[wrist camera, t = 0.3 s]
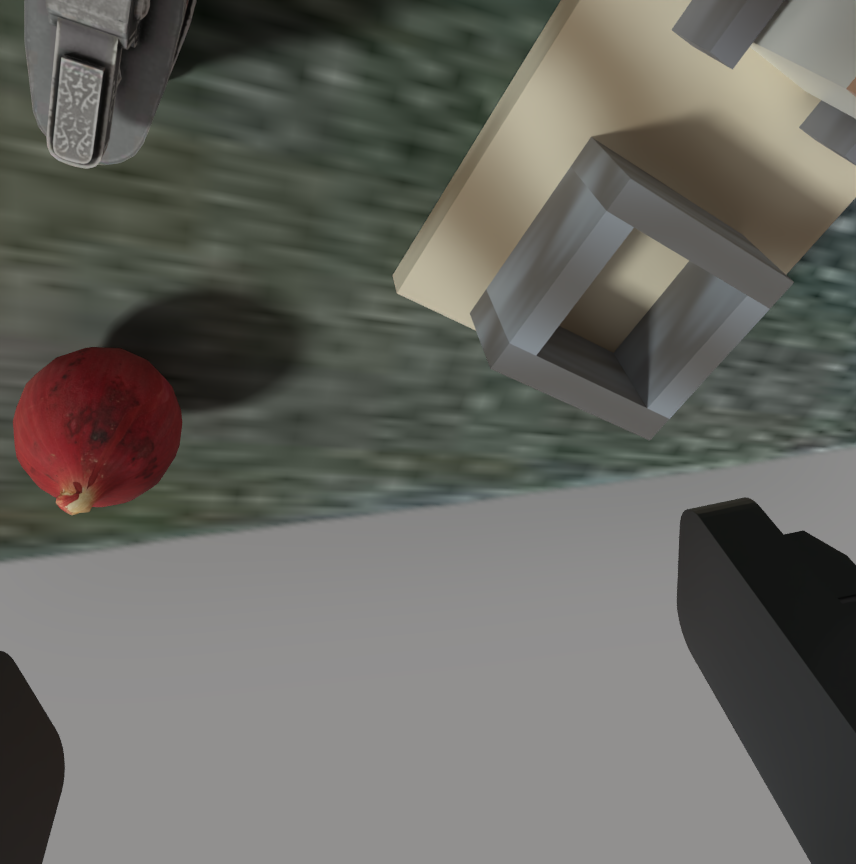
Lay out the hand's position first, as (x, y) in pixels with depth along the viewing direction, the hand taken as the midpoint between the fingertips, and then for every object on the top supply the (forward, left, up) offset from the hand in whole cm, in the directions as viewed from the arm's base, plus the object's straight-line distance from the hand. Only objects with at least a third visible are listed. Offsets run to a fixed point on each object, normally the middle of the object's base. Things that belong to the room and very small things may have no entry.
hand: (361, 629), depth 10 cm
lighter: (-1, -6, -23) cm, 24 cm away
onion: (+14, -2, -23) cm, 27 cm away
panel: (-5, +13, -23) cm, 27 cm away
